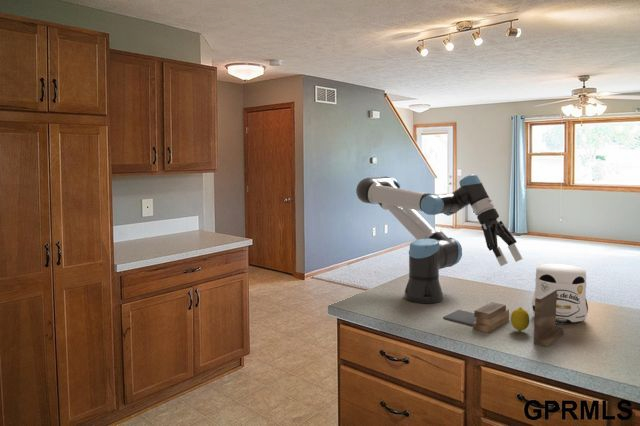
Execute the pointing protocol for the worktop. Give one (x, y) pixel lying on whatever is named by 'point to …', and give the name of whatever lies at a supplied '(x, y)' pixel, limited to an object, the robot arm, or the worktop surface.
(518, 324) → the lemon
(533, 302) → the milk container
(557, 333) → the wooden blocks
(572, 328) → the worktop surface
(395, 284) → the worktop surface
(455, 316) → the rubber mat
